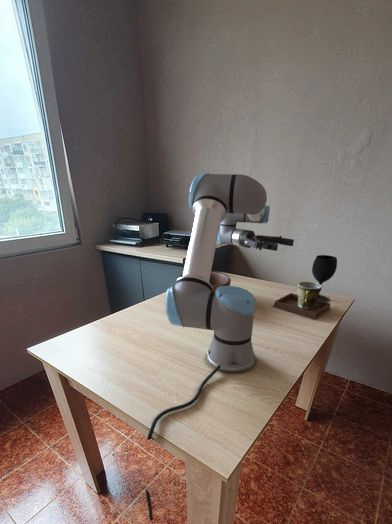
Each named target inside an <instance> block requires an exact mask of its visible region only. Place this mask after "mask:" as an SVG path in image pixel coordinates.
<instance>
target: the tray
mask: <svg viewBox="0 0 392 524" xmlns="http://www.w3.org/2000/svg"><path fill="white" fill-rule="evenodd" d="M273 308H276V309H279V310H282V311H285V312H289V313H291V314H295V315H298V316H301V317H304V318H307V319H311V320H314V321H315V320H317V319H318V318H319V317H321V316H322V315H324V314H325V313H327V312H328V311H330V309H331V303H330V302H328V301H327V302H323V301H319V300H316V301H315V304H314V306H313V308H312V309H303V308H300V307H299V306H298V293H297V294H296V293H293V292H290V293H288V294H285V295H284V296H282V297H280V298H278V299H275V301H274V302H273Z"/></svg>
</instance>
